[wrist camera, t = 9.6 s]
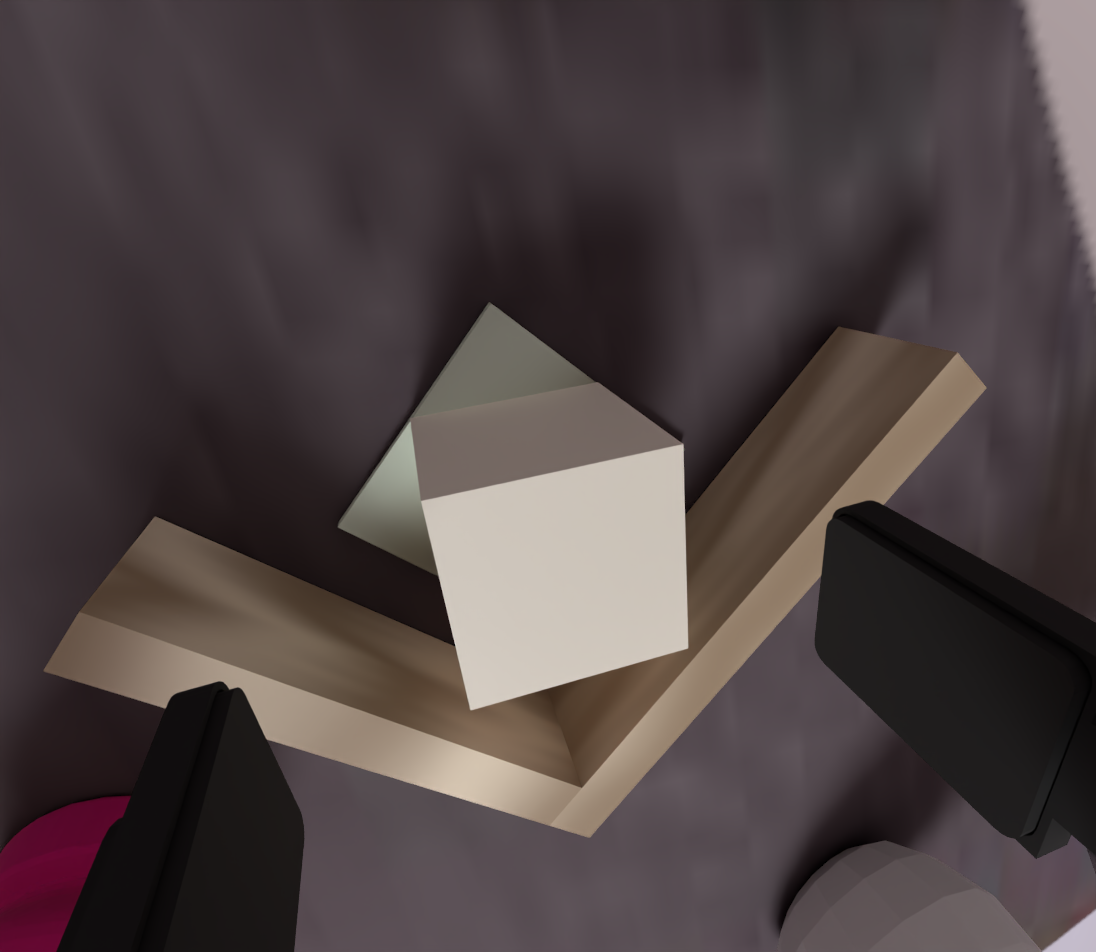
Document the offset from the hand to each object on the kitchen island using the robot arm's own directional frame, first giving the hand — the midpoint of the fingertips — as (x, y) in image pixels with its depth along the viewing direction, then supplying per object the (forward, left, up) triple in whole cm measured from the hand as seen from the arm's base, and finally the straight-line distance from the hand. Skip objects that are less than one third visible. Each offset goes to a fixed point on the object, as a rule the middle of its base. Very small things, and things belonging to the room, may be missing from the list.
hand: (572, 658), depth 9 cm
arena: (0, +1, -8) cm, 8 cm away
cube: (+1, 0, -8) cm, 8 cm away
